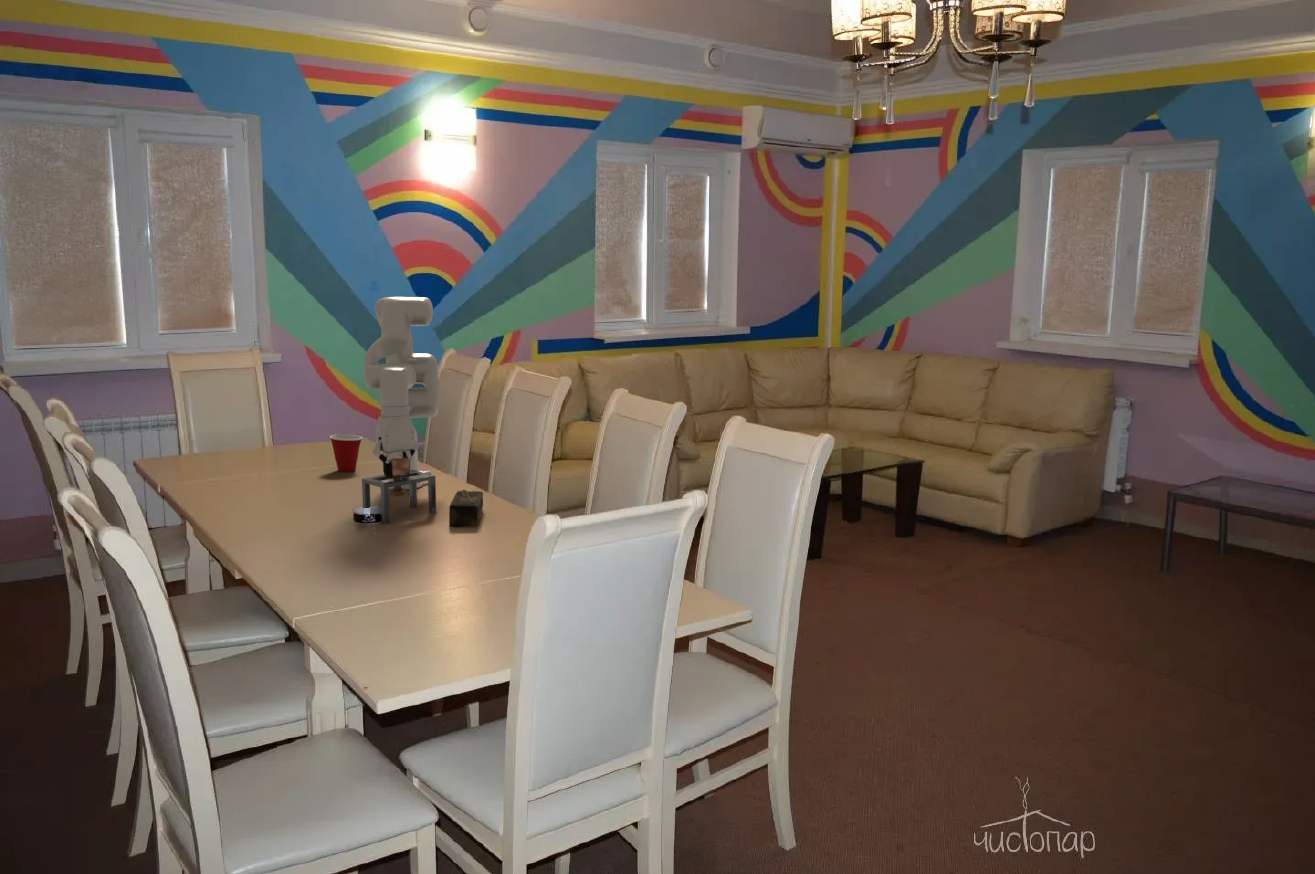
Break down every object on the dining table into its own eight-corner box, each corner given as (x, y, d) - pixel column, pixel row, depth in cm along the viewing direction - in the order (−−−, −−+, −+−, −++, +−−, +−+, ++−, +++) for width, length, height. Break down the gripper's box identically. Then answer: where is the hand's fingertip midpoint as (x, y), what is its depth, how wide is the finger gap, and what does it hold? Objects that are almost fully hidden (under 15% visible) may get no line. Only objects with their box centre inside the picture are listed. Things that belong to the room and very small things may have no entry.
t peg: (400, 491, 292) (399, 456, 290) (410, 494, 288) (409, 459, 286) (385, 494, 288) (383, 458, 286) (394, 497, 285) (393, 461, 283)
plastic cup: (368, 471, 346) (367, 436, 344) (337, 474, 339) (336, 439, 337) (356, 465, 354) (355, 431, 352) (326, 469, 348) (324, 434, 345)
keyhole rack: (414, 506, 299) (413, 469, 297) (436, 512, 292) (435, 475, 290) (363, 516, 287) (361, 478, 285) (384, 523, 280) (383, 484, 278)
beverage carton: (484, 510, 296) (483, 488, 295) (477, 528, 278) (477, 505, 276) (456, 510, 296) (456, 488, 295) (448, 528, 277) (448, 505, 276)
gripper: (413, 406, 292) (414, 468, 296) (360, 413, 280) (363, 477, 283) (428, 409, 287) (429, 472, 291) (375, 416, 275) (377, 481, 278)
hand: (396, 474), depth 287 cm, fingers closed on t peg, 5 cm apart
